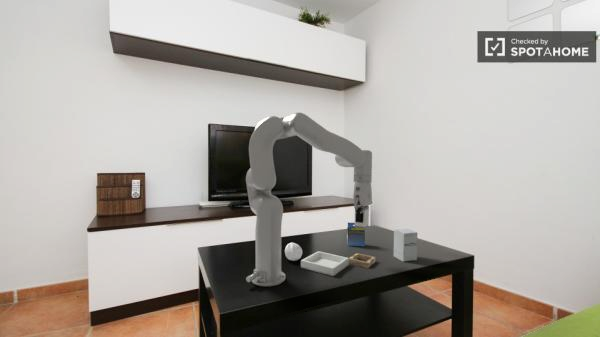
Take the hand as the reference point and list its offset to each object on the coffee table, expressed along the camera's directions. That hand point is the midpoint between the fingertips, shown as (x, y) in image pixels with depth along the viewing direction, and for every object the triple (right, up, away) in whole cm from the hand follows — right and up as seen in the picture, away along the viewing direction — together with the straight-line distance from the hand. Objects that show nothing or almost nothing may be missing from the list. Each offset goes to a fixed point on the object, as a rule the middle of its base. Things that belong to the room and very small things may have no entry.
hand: (361, 220), depth 117 cm
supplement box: (+21, -18, +6) cm, 28 cm away
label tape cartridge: (+3, -18, +25) cm, 31 cm away
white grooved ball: (-30, -18, +3) cm, 35 cm away
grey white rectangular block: (0, -3, 0) cm, 3 cm away
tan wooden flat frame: (0, -18, +1) cm, 18 cm away
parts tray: (-16, -18, -4) cm, 25 cm away
